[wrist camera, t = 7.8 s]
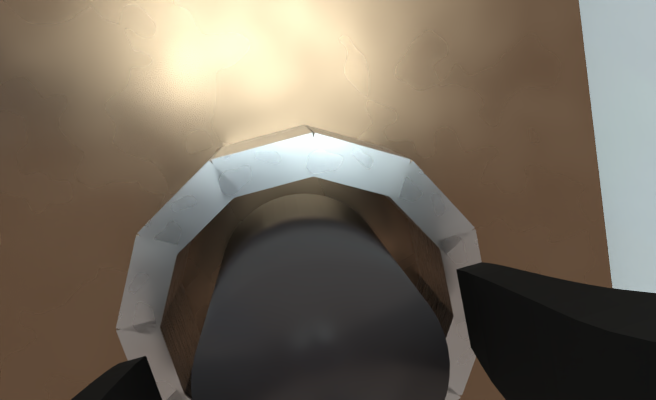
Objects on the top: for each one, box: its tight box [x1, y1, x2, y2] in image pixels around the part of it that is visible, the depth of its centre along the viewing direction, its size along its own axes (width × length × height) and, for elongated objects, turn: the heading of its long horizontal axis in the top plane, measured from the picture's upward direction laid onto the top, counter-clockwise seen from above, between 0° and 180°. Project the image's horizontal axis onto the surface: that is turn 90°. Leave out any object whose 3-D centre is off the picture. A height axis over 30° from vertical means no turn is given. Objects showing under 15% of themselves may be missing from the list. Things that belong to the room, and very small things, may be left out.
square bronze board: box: [0, 0, 612, 400], centre depth 14 cm, size 20×20×4 cm
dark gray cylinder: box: [191, 194, 450, 400], centre depth 12 cm, size 5×5×6 cm
